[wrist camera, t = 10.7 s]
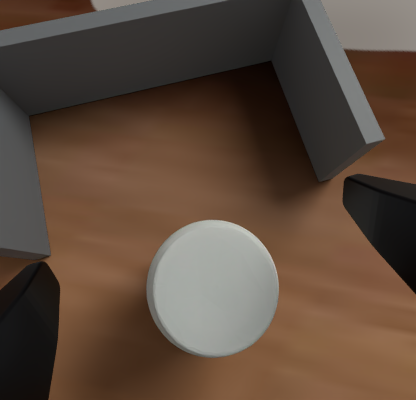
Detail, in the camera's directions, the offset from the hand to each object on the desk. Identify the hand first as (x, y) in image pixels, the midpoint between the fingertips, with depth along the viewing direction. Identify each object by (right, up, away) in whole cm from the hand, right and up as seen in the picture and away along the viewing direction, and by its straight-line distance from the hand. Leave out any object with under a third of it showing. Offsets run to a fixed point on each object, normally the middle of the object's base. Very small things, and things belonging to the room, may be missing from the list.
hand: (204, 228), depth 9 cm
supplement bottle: (0, -4, +10) cm, 11 cm away
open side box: (-2, +4, +12) cm, 13 cm away
